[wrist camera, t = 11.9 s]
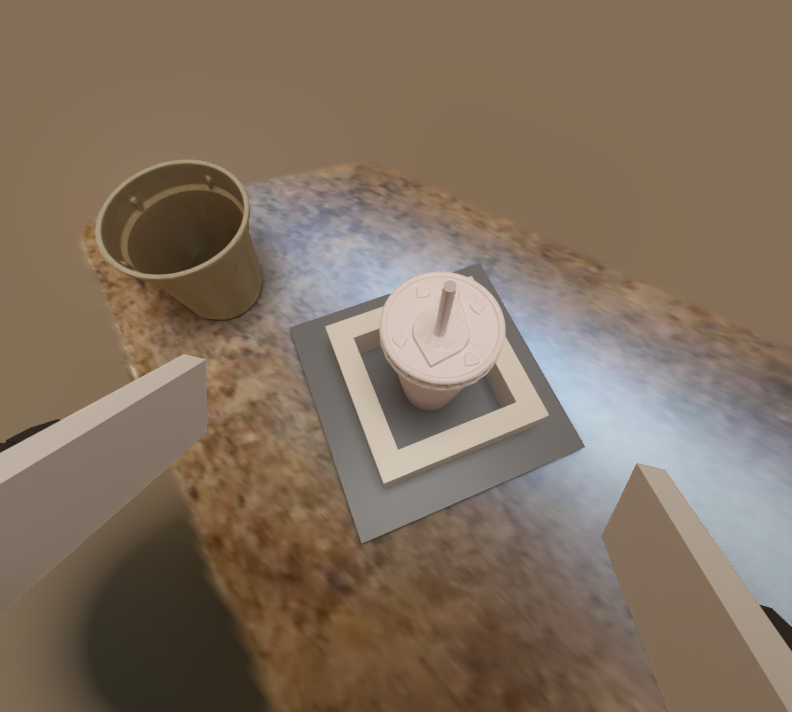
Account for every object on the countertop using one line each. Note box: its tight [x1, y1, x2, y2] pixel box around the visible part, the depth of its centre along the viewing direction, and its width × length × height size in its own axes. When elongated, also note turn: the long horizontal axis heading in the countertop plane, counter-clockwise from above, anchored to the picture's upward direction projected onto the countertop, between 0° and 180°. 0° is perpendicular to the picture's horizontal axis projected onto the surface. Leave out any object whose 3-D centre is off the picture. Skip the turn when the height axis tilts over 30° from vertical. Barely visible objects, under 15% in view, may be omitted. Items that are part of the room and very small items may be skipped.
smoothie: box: [379, 272, 506, 411], centre depth 23 cm, size 6×6×14 cm
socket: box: [290, 263, 585, 543], centre depth 29 cm, size 16×16×4 cm
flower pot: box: [95, 160, 262, 320], centre depth 30 cm, size 9×9×9 cm
